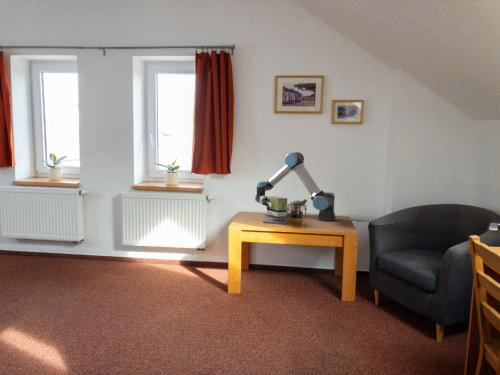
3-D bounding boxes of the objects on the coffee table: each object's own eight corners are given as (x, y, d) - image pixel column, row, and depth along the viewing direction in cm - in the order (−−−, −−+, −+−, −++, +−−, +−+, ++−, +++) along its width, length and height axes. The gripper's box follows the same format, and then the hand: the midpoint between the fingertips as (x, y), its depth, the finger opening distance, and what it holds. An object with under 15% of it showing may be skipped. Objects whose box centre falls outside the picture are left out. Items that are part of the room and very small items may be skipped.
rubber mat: (289, 220, 330) (289, 218, 329) (285, 224, 312) (285, 223, 312) (268, 218, 334) (268, 217, 334) (263, 222, 317) (263, 221, 317)
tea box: (287, 216, 320) (287, 197, 318) (277, 217, 314) (277, 198, 312) (275, 212, 332) (276, 195, 330) (266, 213, 326) (266, 195, 324)
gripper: (277, 204, 345) (290, 208, 325) (253, 205, 336) (264, 210, 316) (278, 195, 344) (290, 199, 324) (253, 196, 335) (264, 200, 315)
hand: (277, 204), depth 320 cm, fingers closed on tea box, 11 cm apart
